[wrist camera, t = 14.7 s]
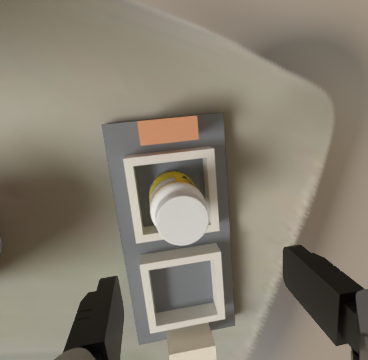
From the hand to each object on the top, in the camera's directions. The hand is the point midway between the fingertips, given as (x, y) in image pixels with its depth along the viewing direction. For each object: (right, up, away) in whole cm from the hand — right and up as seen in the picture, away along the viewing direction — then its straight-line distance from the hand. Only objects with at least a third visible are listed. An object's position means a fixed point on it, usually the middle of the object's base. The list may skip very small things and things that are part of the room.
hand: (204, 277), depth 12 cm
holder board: (-2, -2, +18) cm, 18 cm away
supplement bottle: (-2, +3, +15) cm, 16 cm away
